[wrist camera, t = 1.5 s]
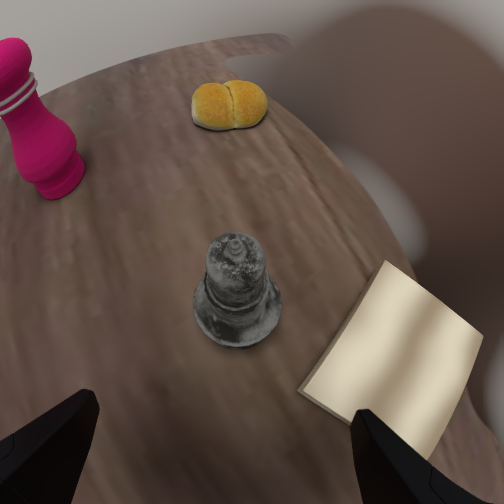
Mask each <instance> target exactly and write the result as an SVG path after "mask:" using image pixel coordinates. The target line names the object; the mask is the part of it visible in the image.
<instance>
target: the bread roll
mask: <svg viewBox="0 0 504 504" xmlns="http://www.w3.org/2000/svg"><path fill="white" fill-rule="evenodd" d="M267 107H268V103H267V99H266V96H265V94H264V92H263V91H262V90H261V89H260V88H259V87H258V86H257V85H255V84H253V83H251V82H247V81H239V80H234V81H229V82H226V83H225V84H223V85H221V84H218V83H206V84H203V85H202V86H200V87H199V88H198V89H197V90H196V91H195V93H194V95H193V97H192V117H193V121H194V123H195V124H197V125H199V126H201V127H204V128H207V129H211V130H228V129H233V128H248V127H251V126H254V125H256V124H257V123H258V122H259V121H260V120H261V119H262V117H263V116H264V115H265V113H266V110H267Z"/></svg>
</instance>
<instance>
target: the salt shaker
mask: <svg viewBox="0 0 504 504" xmlns="http://www.w3.org/2000/svg"><path fill="white" fill-rule="evenodd" d="M205 266H206V272H205V276H204V277H203V278H202V279H201V280H200V282H199V284H198V286H197V288H196V290H195V293H194V298H193V312H194V315H195V318H196V321H197V324H198V325H199V326H200V328H201V329H202V331H203V332H204V333H205V334H206V335H207V336H209V337H210V338H211V339H212V340H214V341H216V342H217V343H218V344H219V345H221V346H224V347H226V348H229V349H235V350H240V349H247V348H250V347H252V346H255V345H256V344H258V343H259V342H260V341H262V340H263V338H265V337H266V336H267V335H269V334H270V333H271V331H272V330H273V329H274V327H275V326H276V325H277V322H278V320H279V317H280V315H281V307H282V301H281V295H280V291H279V289H278V287H277V284H276V282H275V281H274V280H273V279H272V277H271V276H270V275H269V274H268V273H267V271H266V269H265V268H266V257H265V253H264V251H263V248H262V246H261V245H260V243H259V242H258V241H257V240H256V239H255V238H253V237H252V236H250V235H248V234H245V233H241V232H228V233H226V234H223V235H221V236H219V237H218V238H216V239H215V240H214V241H213V242H212V243H211V244H210V246H209V248H208V250H207V253H206V258H205Z"/></svg>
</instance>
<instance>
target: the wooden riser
mask: <svg viewBox="0 0 504 504" xmlns="http://www.w3.org/2000/svg"><path fill="white" fill-rule="evenodd" d="M482 339H483V335H481V334H480V333H479V332H478V331H477V330H475V329H474V328H473V327H472V326H471V325H469V324H468V323H467V322H466V321H465V320H463V319H462V318H461V317H460V316H458V315H457V314H456V313H455V312H453V311H452V310H451V309H450V308H448V307H447V306H446V305H444V304H443V303H442V302H441V301H440V300H438V299H437V298H436V297H434V296H433V295H432V294H430V293H429V292H428V291H427V290H425V289H424V288H423V287H421V286H420V285H419V284H417V283H416V282H415V281H413V280H412V279H411V278H409V277H408V276H407V275H405V274H404V273H403V272H401V271H400V270H398V269H397V268H396V267H394V266H393V265H392V264H390V263H389V262H387V261H386V260H385V261H384V262H383V263H382V264H381V265H380V266H379V267H378V268H377V269H376V270H375V271H374V272H373V274H372V276H371V278H370V279H369V281H368V283H367V284H366V286H365V288H364V290H363V291H362V293H361V295H360V296H359V298H358V300H357V301H356V303H355V305H354V306H353V308H352V310H351V311H350V313H349V314H348V316H347V318H346V319H345V321H344V322H343V324H342V325H341V327H340V329H339V330H338V332H337V333H336V335H335V336H334V338H333V339H332V341H331V342H330V344H329V345H328V347H327V348H326V350H325V351H324V353H323V354H322V356H321V357H320V359H319V360H318V361H317V363H316V364H315V366H314V367H313V369H312V370H311V371H310V373H309V374H308V376H307V377H306V378H305V380H304V381H303V382H302V384H301V385H300V387H299V388H298V389H297V392H299V393H300V394H302V395H303V396H305V397H306V398H308V399H309V400H311V401H312V402H314V403H315V404H317V405H318V406H320V407H321V408H323V409H324V410H326V411H327V412H329V413H331V414H332V415H334V416H335V417H337V418H338V419H340V420H342V421H343V422H345V423H346V424H348V425H351V422H352V420H353V417H354V415H355V413H356V411H357V410H358V409H365V408H368V409H370V410H371V411H372V412H373V413H374V414H376V415H377V416H378V417H379V418H380V419H381V420H382V421H383V422H384V423H385V424H386V425H388V426H389V427H390V428H391V429H392V430H393V431H394V432H395V433H396V434H398V435H399V436H400V437H401V438H402V439H403V440H404V441H405V442H406V443H408V444H409V445H410V446H411V447H412V448H413V449H414V450H415V451H417V452H418V453H419V454H420V455H421V456H422V457H423V458H425V459H426V460H428V458H429V456H430V455H431V453H432V451H433V449H434V448H435V446H436V444H437V442H438V441H439V439H440V437H441V435H442V433H443V431H444V430H445V428H446V426H447V424H448V422H449V420H450V418H451V416H452V414H453V412H454V410H455V407H456V405H457V403H458V401H459V399H460V397H461V394H462V392H463V390H464V387H465V385H466V383H467V380H468V378H469V375H470V372H471V370H472V367H473V364H474V362H475V359H476V356H477V354H478V351H479V348H480V345H481V341H482Z"/></svg>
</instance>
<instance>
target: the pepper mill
mask: <svg viewBox="0 0 504 504" xmlns="http://www.w3.org/2000/svg"><path fill="white" fill-rule="evenodd" d="M31 61H32V56H31V51H30V49H29V47H28V45H27V44H26V43H25V42H24V41H23V40H21V39H19V38H7V39H4V40H1V41H0V117H1V118H2V119H3V121H4V122H5V124H6V126H7V128H8V130H9V133H10V137H11V141H12V147H13V154H14V160H15V163H16V166H17V169H18V171H19V173H20V174H21V176H22V177H23V179H24V180H26V181H27V182H30V183H34V185H35V187H36V189H37V190H38V191H39V193H40V194H41V195H42V196H43V197H44V198H46V199H50V200H54V199H58V198H61V197H63V196H65V195H67V194H68V193H69V192H71V191H72V190H73V189H74V188H75V187H76V186H77V185H78V183H79V182H80V181H81V179H82V176H83V174H84V169H85V165H84V162H83V160H82V158H81V157H80V155H79V153H78V152H77V151H76V145H77V144H76V138H75V135H74V133H73V132H72V130H71V129H70V127H69V126H68V125H67V124H66V123H65V122H64V121H62V120H61V119H59V118H58V117H56V116H55V115H53V114H52V113H51V112H49V111H48V110H47V109H46V108H45V106H44V105H43V103H42V102H41V100H40V98H39V97H38V94H37V91H36V87H37V84H38V83H37V80H35V78H34V73H33V72H29V67H30V65H31Z"/></svg>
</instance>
